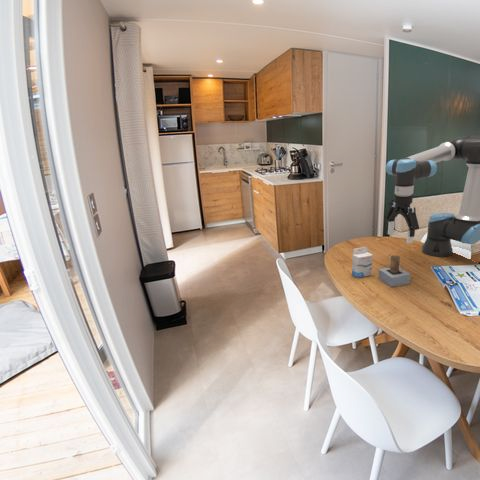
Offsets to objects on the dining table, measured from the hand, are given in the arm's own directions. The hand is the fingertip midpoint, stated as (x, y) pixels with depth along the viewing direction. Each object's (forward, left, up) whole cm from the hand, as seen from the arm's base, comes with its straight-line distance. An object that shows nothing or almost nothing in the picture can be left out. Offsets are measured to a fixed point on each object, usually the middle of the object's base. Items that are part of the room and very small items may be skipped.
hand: (399, 238), depth 143 cm
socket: (+2, +1, -22) cm, 22 cm away
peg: (+2, +1, -21) cm, 21 cm away
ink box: (+13, -10, -22) cm, 27 cm away
